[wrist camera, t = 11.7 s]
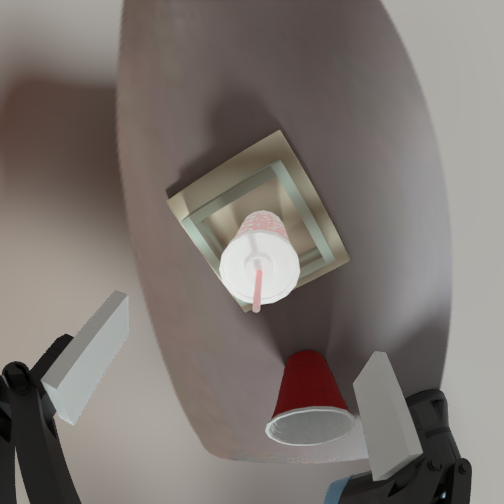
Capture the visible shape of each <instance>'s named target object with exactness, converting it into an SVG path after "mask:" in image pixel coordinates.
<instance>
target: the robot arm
mask: <svg viewBox="0 0 504 504" xmlns="http://www.w3.org/2000/svg"><path fill="white" fill-rule="evenodd" d="M128 336H129V315H128V294H125V293H122V292H119V291H114V292H113V293H112V294H111V296H110V297H109V298H108V299H107V300H106V301H105V302H104V304H103V305H102V306H101V307H100V308H99V309H98V310H97V311H96V313H95V314H94V315H93V316H92V317H91V318H90V319H89V321H88V322H87V323H86V324H85V325H84V326H83V328H82V329H81V330H80V331H79V332H78V334H77V335H76V336H75V337H72V336H70V335H68V334H64V335H63V336H61V337H59V338H57V339H56V340H55V341H54V343H53V344H52V345H51V347H49V348H48V350H47V351H46V353H44V354H43V356H42V357H41V358H40V359H39V361H38V362H37V363H36V364H35V365H34V367H33V368H32V369H31V370H30V371H29V368H28V367H27V366H26V365H25V364H24V363H22V362H17V361H15V362H11V363H9V364H7V365H6V366H5V367H4V369H3V371H2V376H1V375H0V504H17V501H16V490H15V447H16V452H17V457H18V461H19V466H20V470H21V474H22V478H23V482H24V485H25V489H26V492H27V495H28V498H29V501H30V504H81V501H80V499H79V497H78V494H77V492H76V489H75V487H74V484H73V482H72V479H71V476H70V473H69V470H68V468H67V465H66V461H65V458H64V455H63V452H62V448H61V445H60V441H59V437H58V433H57V429H56V425H55V421H54V418H53V416H54V414H55V413H56V412H57V414H58V415H59V417H60V418H61V419H63V420H64V421H66V422H68V423H70V424H72V425H75V423H76V422H77V420H78V418H79V416H80V414H81V413H82V411H83V409H84V407H85V406H86V404H87V402H88V400H89V398H90V397H91V395H92V394H93V392H94V390H95V388H96V387H97V385H98V383H99V382H100V380H101V378H102V377H103V375H104V373H105V372H106V370H107V369H108V367H109V366H110V364H111V362H112V361H113V359H114V357H115V356H116V354H117V353H118V351H119V350H120V348H121V346H122V345H123V343H124V342H125V340H126V339H127V337H128ZM353 387H354V391H355V395H356V400H357V404H358V408H359V412H360V417H361V421H362V426H363V430H364V435H365V440H366V444H367V449H368V454H369V459H370V465H371V471H368V472H364V473H360V474H357V475H351V476H349V477H346V478H343V479H340V480H336V481H334V482H333V483H332V484H331V485H330V486H329V488H328V489H327V492H326V496H325V500H324V504H469V503H470V492H471V477H472V468H471V464H470V462H469V461H468V460H467V459H465V458H461V456H460V453H459V450H458V448H457V445H456V443H455V440H454V438H453V435H452V433H451V430H450V428H449V423H448V406H447V405H448V404H447V400H446V397H445V395H444V393H443V392H442V391H440V390H428V391H424V392H421V393H418V394H416V395H413V396H411V397H409V398H407V399H404V396H403V393H402V391H401V388H400V386H399V383H398V381H397V378H396V376H395V373H394V371H393V368H392V366H391V364H390V361H389V359H388V356H387V354H386V352H379V351H374V353H373V354H372V356H371V357H370V359H369V360H368V362H367V363H366V365H365V366H364V368H363V369H362V371H361V372H360V374H359V375H358V377H357V378H356V380H355V381H354V383H353Z"/></svg>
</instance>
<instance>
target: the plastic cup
mask: <svg viewBox="0 0 504 504" xmlns="http://www.w3.org/2000/svg"><path fill="white" fill-rule="evenodd" d="M354 427H355V417H354V416H353V415H352V414H351V413H350V412H349V410H348V407H347V406H346V404H345V401H344V400H343V398H342V396H341V394H340V391H339V389H338V386H337V384H336V382H335V379H334V377H333V375H332V372H331V371H330V369H329V367H328V365H327V362H326V360H325V359H324V357H323V356H322V355H321V354H320V353H318V352H315V351H310V350H305V351H300V352H297V353H295V354H293V355H291V357H290V358H289V359H288V360H287V363H286V365H285V369H284V375H283V378H282V382H281V386H280V391H279V395H278V400H277V404H276V408H275V411H274V413H273V416H272V419H271V420H270V421H269V422H268V424H267V427H266V430H265V432H266V433H267V435H268V436H269V438H271V439H273V440H275V441H277V442H279V443H284V444H289V445H300V446H309V445H317V444H324V443H327V442H330V441H334V440H337V439H339V438H341V437H343V436H344V435H346V434H348V433H349V432H350V431H351V430H352V429H353V428H354Z"/></svg>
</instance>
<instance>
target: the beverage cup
mask: <svg viewBox="0 0 504 504" xmlns="http://www.w3.org/2000/svg"><path fill="white" fill-rule="evenodd" d="M219 271H220V274H221V278H222V282H223V284H224V285H225V286H226V288H227V289H228V290H229V292H230V293H231V294H232V295H234V296H235V297H237V298H239V299H240V300H242V301H244V302H248V303H252V304H253V307H252V311H253V312H255V313H258V312H259V311H260V305H261V304H269V303H274V302H276V301H278V300H280V299H282V298H284V297H286V296H287V295H288V294H289V293H290V292H291V291H292V289H293V288H294V287H295V286H296V284H297V281H298V278H299V274H300V267H299V259H298V256H297V253H296V251H295V250H294V248H293V246H292V245H291V243H290V241H289V239H288V236H287V233H286V230H285V227H284V224H283V223H282V221H281V220H280V218H279V217H278V216H276V215H275V214H274V213H272V212H268V211H264V210H263V211H257V212H254V213H252V214H250V215H249V216H247V217H246V219H245V220H244V222H243V223H242V225H241V227H240V229H239V230H238V232H237V234H236V236H235V238H234V239H232V240H231V242H230V243H229V244H228V246H227V247H226V249H225V250H224V252H223V253H222V256H221V262H220V268H219Z"/></svg>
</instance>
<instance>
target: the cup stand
mask: <svg viewBox="0 0 504 504" xmlns="http://www.w3.org/2000/svg"><path fill="white" fill-rule="evenodd" d="M166 203H167V204H168V206H169V207H170V209H171V210H172V212H173V213H174V215H175V216H176V218H177V219H178V221H179V222H180V223H181V225H182V226H183V228H184V229H185V231H186V232H187V234H188V235H189V236H190V238H191V239H192V241H193V242H194V244H195V245H196V246H197V248H198V249H199V251H200V252H201V254H202V255H203V256H204V258H205V259H206V261H207V262H208V263H209V265H210V266H211V268H212V269H213V270H214V272H215V273H216V274H217V276H218V277H219V279H220V280H221V281H222V278H221V274H220V271H219V268H220V262H221V256H222V253H223V252H224V250H225V249H226V247H227V246H228V244H229V243H230V242H231V240H232V239H234V238H235V236H236V234H237V232H238V230H239V229H240V227H241V225H242V223H243V222H244V220H245V219H246V217H247V216H249V215H250V214H252V213H254V212H257V211H263V210H264V211H268V212H272V213H274V214H275V215H276V216H278V217H279V218H280V220H281V221H282V223H283V224H284V227H285V230H286V233H287V236H288V239H289V241H290V243H291V245H292V246H293V248H294V250H295V251H296V253H297V256H298V259H299V267H300V274H299V278H298V281H297V284H296V286H295V287H294V288H293V289H292V290H294V289H296V288H298V287H300V286H302V285H304V284H306V283H308V282H310V281H312V280H314V279H316V278H318V277H320V276H322V275H324V274H326V273H328V272H330V271H332V270H334V269H335V268H337V267H339V266H341V265H343V264H345V263H347V262H349V261H351V260H350V258H349V255H348V253H347V251H346V249H345V247H344V245H343V243H342V241H341V239H340V237H339V235H338V233H337V231H336V229H335V227H334V225H333V223H332V221H331V219H330V217H329V215H328V213H327V211H326V209H325V207H324V206H323V204H322V202H321V200H320V198H319V196H318V194H317V192H316V191H315V189H314V187H313V185H312V183H311V182H310V180H309V178H308V176H307V174H306V173H305V171H304V169H303V167H302V166H301V164H300V162H299V161H298V159H297V157H296V155H295V154H294V152H293V150H292V149H291V147H290V145H289V144H288V142H287V140H286V139H285V137H284V136H283V134H282V132H281V131H280V130H278V131H276V132H274V133H273V134H271V135H269V136H267V137H266V138H264V139H262V140H260V141H259V142H257V143H255V144H254V145H252V146H250V147H248V148H247V149H245V150H243V151H242V152H240V153H239V154H237V155H235V156H234V157H232V158H230V159H229V160H227V161H226V162H224V163H222V164H221V165H219V166H218V167H216V168H215V169H213V170H212V171H210V172H208V173H207V174H205V175H204V176H202V177H201V178H199V179H198V180H196V181H195V182H193V183H192V184H190V185H189V186H187V187H186V188H185V189H183V190H182V191H180V192H179V193H177V194H176V195H175V196H173V197H172V198H170V199H169V200H167V201H166ZM222 283H223V282H222ZM225 287H226V286H225ZM227 290H228V289H227ZM228 291H229V290H228ZM230 294H231V293H230ZM231 295H232V294H231ZM232 296H233V298H234V299H235V300H236V302H237V303H238V304H239V306H240V307H241V308H242V310H243V311H244V312H248V311H250V310H252V307H253V304H252V303H248V302H244V301H242V300H240V299H239V298H237V297H235V296H234V295H232ZM261 305H263V304H261Z"/></svg>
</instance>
